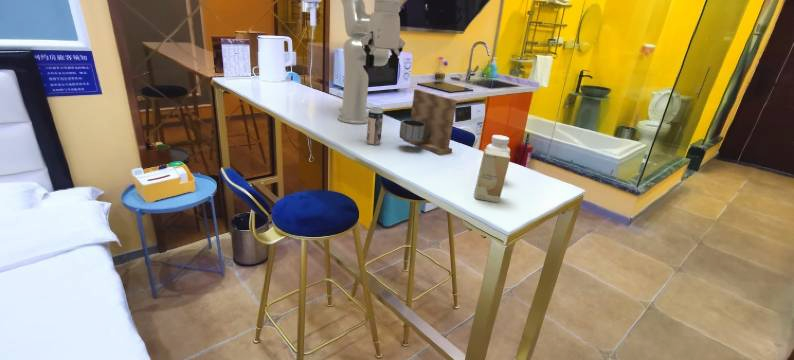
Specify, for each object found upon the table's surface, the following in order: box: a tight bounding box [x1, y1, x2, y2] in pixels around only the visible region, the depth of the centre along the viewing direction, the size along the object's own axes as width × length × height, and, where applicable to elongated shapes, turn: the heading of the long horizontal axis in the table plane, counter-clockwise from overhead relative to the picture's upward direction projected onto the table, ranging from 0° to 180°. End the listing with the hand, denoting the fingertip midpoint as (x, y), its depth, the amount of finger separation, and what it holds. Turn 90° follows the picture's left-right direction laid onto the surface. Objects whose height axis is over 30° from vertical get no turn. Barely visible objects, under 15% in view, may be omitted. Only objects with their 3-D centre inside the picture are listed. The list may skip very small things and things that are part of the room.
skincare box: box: [473, 148, 511, 203], centre depth 96 cm, size 6×4×12 cm
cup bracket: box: [399, 88, 458, 156], centre depth 128 cm, size 18×15×18 cm
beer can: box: [365, 106, 384, 146], centre depth 128 cm, size 5×5×12 cm
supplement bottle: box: [485, 134, 511, 156], centre depth 108 cm, size 7×7×13 cm
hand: (381, 68), depth 121 cm, fingers open, 9 cm apart
